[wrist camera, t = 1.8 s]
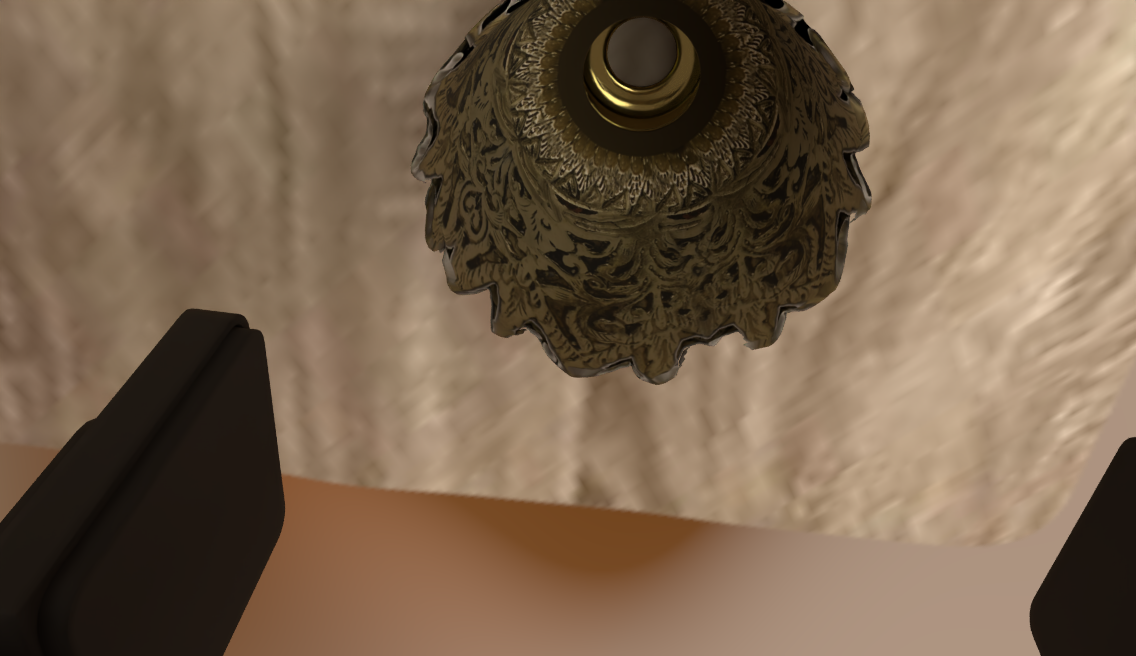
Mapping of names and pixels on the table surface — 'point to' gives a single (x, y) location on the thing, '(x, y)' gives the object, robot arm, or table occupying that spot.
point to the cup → (642, 178)
